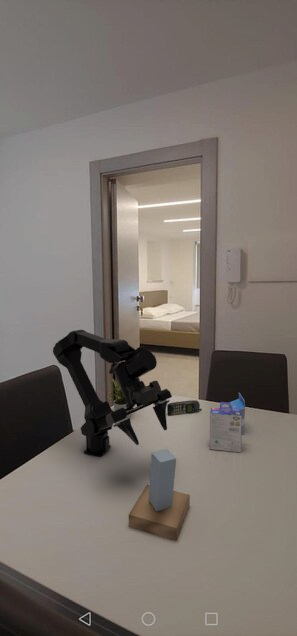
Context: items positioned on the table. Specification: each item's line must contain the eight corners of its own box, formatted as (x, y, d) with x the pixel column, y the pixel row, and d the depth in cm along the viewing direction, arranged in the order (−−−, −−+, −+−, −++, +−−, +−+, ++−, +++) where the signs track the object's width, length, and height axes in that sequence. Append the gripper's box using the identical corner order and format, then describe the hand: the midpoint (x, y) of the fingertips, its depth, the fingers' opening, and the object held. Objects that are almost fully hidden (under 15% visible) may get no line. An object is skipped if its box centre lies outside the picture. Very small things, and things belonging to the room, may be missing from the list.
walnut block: (128, 528, 71) (128, 514, 70) (147, 497, 81) (146, 484, 81) (176, 543, 67) (176, 528, 66) (189, 508, 77) (189, 494, 77)
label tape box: (227, 423, 121) (228, 391, 119) (238, 423, 120) (239, 391, 119) (233, 434, 112) (233, 401, 110) (244, 434, 112) (245, 401, 110)
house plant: (148, 411, 131) (148, 373, 129) (136, 426, 118) (135, 384, 116) (116, 407, 136) (116, 370, 134) (101, 421, 123) (100, 380, 121)
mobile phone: (168, 405, 126) (203, 400, 130) (166, 402, 129) (200, 397, 133) (168, 417, 127) (203, 412, 131) (166, 414, 130) (200, 409, 134)
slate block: (156, 511, 71) (160, 462, 69) (148, 499, 74) (151, 452, 72) (172, 506, 73) (176, 458, 71) (163, 494, 76) (166, 448, 74)
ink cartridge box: (240, 444, 106) (241, 401, 104) (241, 453, 100) (243, 408, 98) (209, 441, 107) (210, 399, 106) (209, 449, 102) (210, 406, 100)
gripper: (109, 387, 78) (134, 450, 74) (169, 364, 88) (194, 418, 84) (96, 396, 87) (118, 453, 83) (151, 374, 97) (173, 424, 93)
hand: (152, 437), depth 85 cm, fingers open, 9 cm apart
